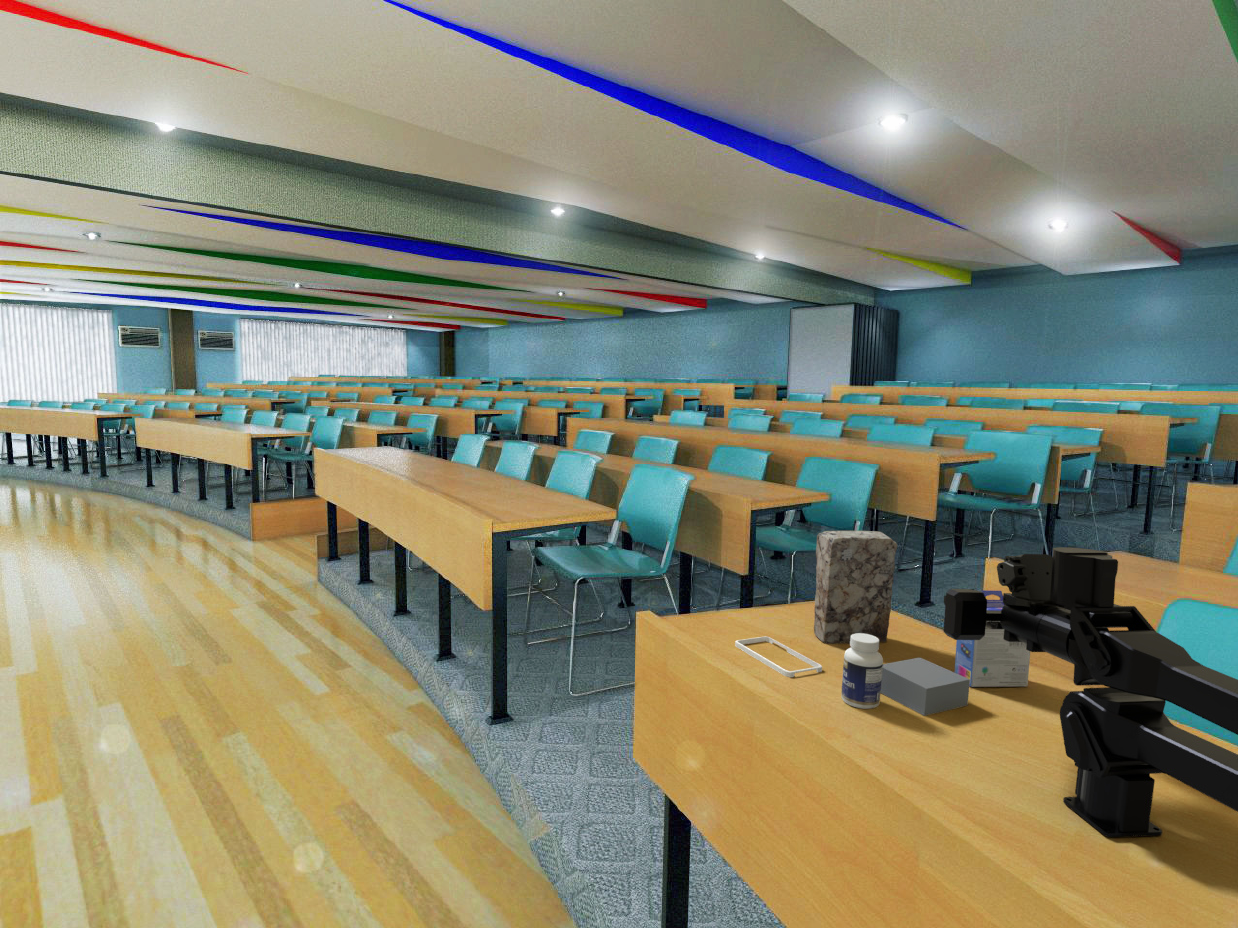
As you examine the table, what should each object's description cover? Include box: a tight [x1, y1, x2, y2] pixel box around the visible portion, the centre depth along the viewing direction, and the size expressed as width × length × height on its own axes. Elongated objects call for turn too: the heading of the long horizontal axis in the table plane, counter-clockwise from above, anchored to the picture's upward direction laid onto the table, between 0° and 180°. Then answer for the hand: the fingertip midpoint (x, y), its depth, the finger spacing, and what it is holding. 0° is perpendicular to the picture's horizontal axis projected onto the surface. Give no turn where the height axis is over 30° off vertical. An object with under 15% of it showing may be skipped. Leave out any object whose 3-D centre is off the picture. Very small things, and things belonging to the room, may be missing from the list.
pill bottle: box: [840, 633, 884, 710], centre depth 102 cm, size 5×5×10 cm
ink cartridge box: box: [954, 589, 1031, 688], centre depth 111 cm, size 10×6×14 cm, turn 96°
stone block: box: [813, 530, 898, 645], centre depth 128 cm, size 13×7×20 cm, turn 103°
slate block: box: [881, 657, 970, 717], centre depth 105 cm, size 9×9×4 cm
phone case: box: [734, 635, 823, 678], centre depth 119 cm, size 7×1×15 cm
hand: (975, 599), depth 99 cm, fingers open, 9 cm apart
